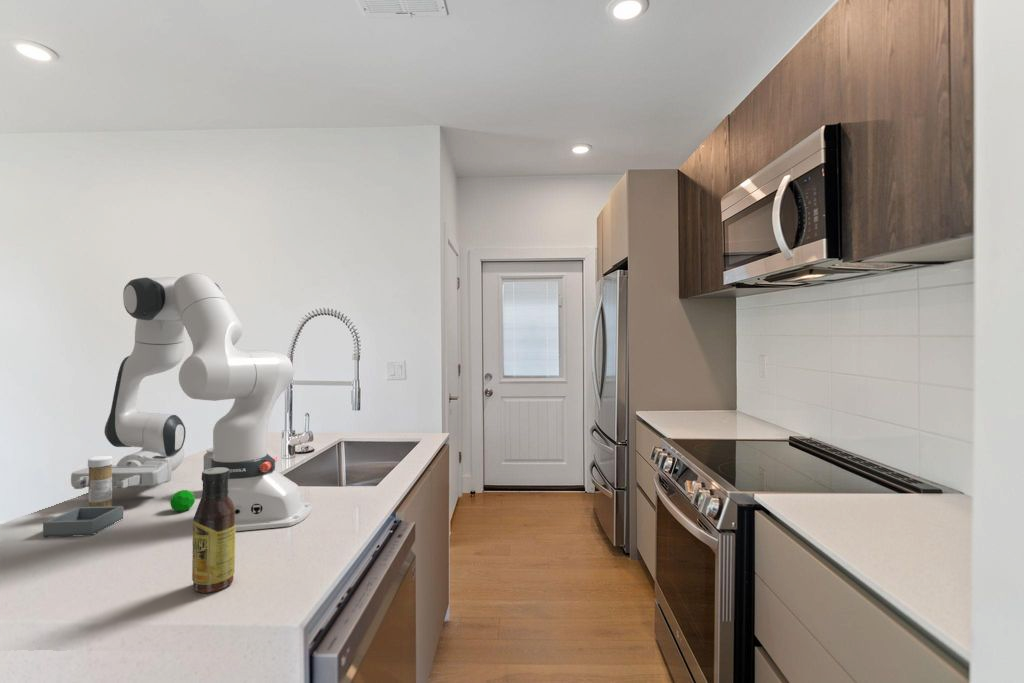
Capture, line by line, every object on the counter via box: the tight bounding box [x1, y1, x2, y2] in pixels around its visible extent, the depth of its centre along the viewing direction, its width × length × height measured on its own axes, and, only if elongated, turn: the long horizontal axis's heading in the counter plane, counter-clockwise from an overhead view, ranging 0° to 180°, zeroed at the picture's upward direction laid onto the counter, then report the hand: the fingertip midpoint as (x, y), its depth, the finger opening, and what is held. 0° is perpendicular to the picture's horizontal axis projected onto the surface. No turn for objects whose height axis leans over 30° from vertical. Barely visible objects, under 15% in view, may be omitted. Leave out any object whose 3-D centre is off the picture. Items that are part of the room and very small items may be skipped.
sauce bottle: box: [191, 467, 236, 594], centre depth 85 cm, size 6×6×20 cm
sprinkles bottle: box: [87, 455, 114, 507], centre depth 119 cm, size 5×5×14 cm
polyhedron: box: [169, 489, 196, 512], centre depth 121 cm, size 5×5×5 cm
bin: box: [42, 505, 124, 537], centre depth 110 cm, size 10×10×3 cm
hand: (98, 485), depth 118 cm, fingers open, 8 cm apart
